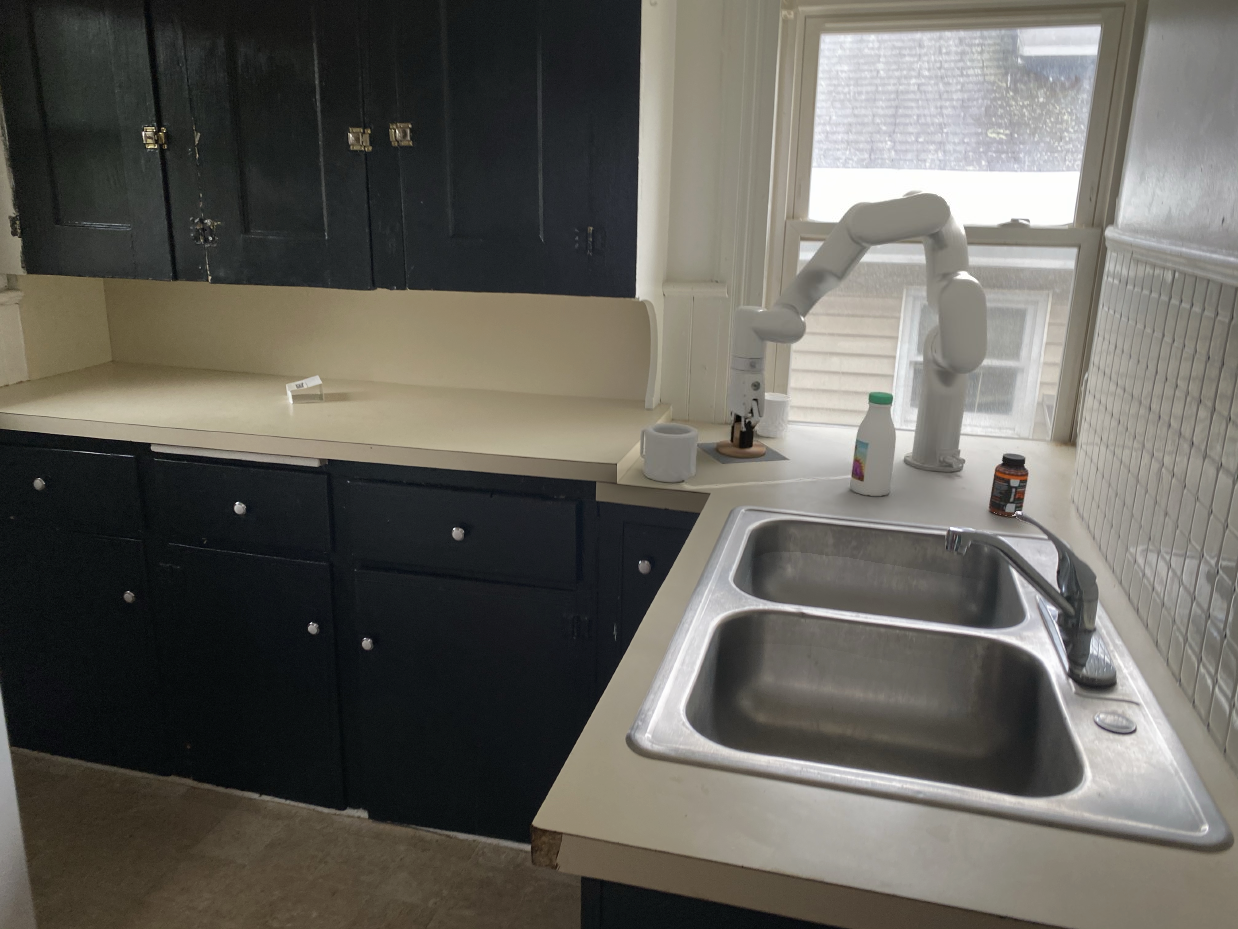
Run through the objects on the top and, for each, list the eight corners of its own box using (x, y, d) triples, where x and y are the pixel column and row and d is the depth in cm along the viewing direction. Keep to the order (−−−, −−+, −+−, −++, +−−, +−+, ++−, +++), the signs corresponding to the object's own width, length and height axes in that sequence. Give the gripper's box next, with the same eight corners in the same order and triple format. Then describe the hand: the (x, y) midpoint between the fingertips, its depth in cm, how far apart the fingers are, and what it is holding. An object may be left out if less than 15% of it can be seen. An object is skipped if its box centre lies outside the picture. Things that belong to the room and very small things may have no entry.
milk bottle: (890, 488, 195) (902, 392, 189) (888, 499, 188) (900, 399, 182) (852, 483, 197) (862, 387, 191) (847, 494, 190) (859, 395, 184)
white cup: (786, 442, 226) (790, 401, 223) (753, 439, 227) (756, 398, 224) (787, 434, 233) (791, 394, 230) (755, 431, 235) (758, 391, 232)
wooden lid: (774, 456, 211) (776, 429, 209) (728, 459, 207) (730, 431, 206) (752, 443, 221) (754, 417, 219) (708, 446, 217) (709, 419, 215)
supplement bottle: (1018, 520, 179) (1028, 462, 176) (985, 513, 182) (994, 456, 179) (1024, 511, 184) (1033, 455, 181) (991, 505, 187) (1000, 449, 184)
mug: (705, 476, 198) (709, 429, 195) (672, 487, 190) (675, 438, 187) (656, 461, 207) (658, 416, 204) (622, 471, 199) (624, 424, 196)
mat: (789, 463, 209) (789, 459, 209) (722, 467, 205) (722, 463, 204) (757, 443, 224) (757, 440, 224) (693, 446, 219) (694, 443, 219)
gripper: (780, 370, 202) (773, 454, 207) (747, 356, 217) (740, 434, 222) (748, 371, 200) (741, 456, 205) (716, 357, 215) (711, 436, 220)
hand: (741, 444), depth 214 cm, fingers closed on wooden lid, 3 cm apart
